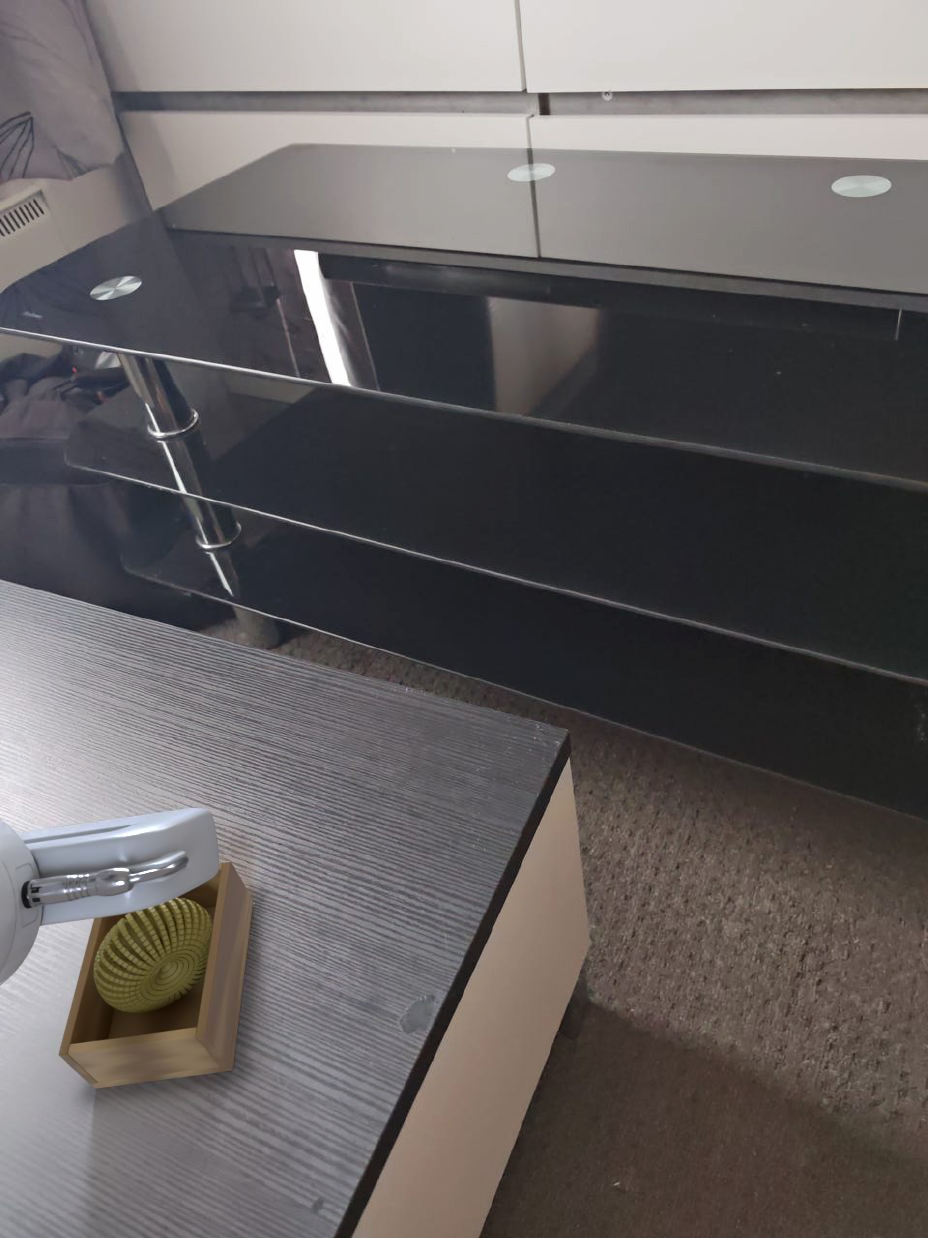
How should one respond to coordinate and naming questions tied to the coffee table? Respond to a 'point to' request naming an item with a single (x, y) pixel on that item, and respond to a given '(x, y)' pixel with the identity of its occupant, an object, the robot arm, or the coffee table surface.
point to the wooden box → (181, 1031)
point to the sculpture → (153, 956)
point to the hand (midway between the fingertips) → (79, 846)
